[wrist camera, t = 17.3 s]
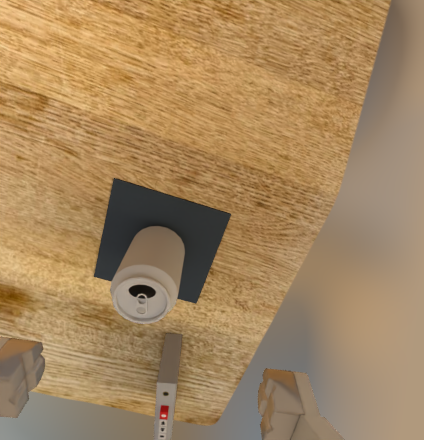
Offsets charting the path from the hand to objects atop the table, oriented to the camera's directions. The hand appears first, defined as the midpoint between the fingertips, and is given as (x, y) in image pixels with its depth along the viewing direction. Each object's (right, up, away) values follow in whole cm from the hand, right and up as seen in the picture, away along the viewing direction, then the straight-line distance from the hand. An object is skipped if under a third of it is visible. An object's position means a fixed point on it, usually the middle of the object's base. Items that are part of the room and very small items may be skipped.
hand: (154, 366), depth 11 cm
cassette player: (-5, -20, +42) cm, 47 cm away
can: (-5, +2, +32) cm, 33 cm away
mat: (-5, +2, +32) cm, 33 cm away
